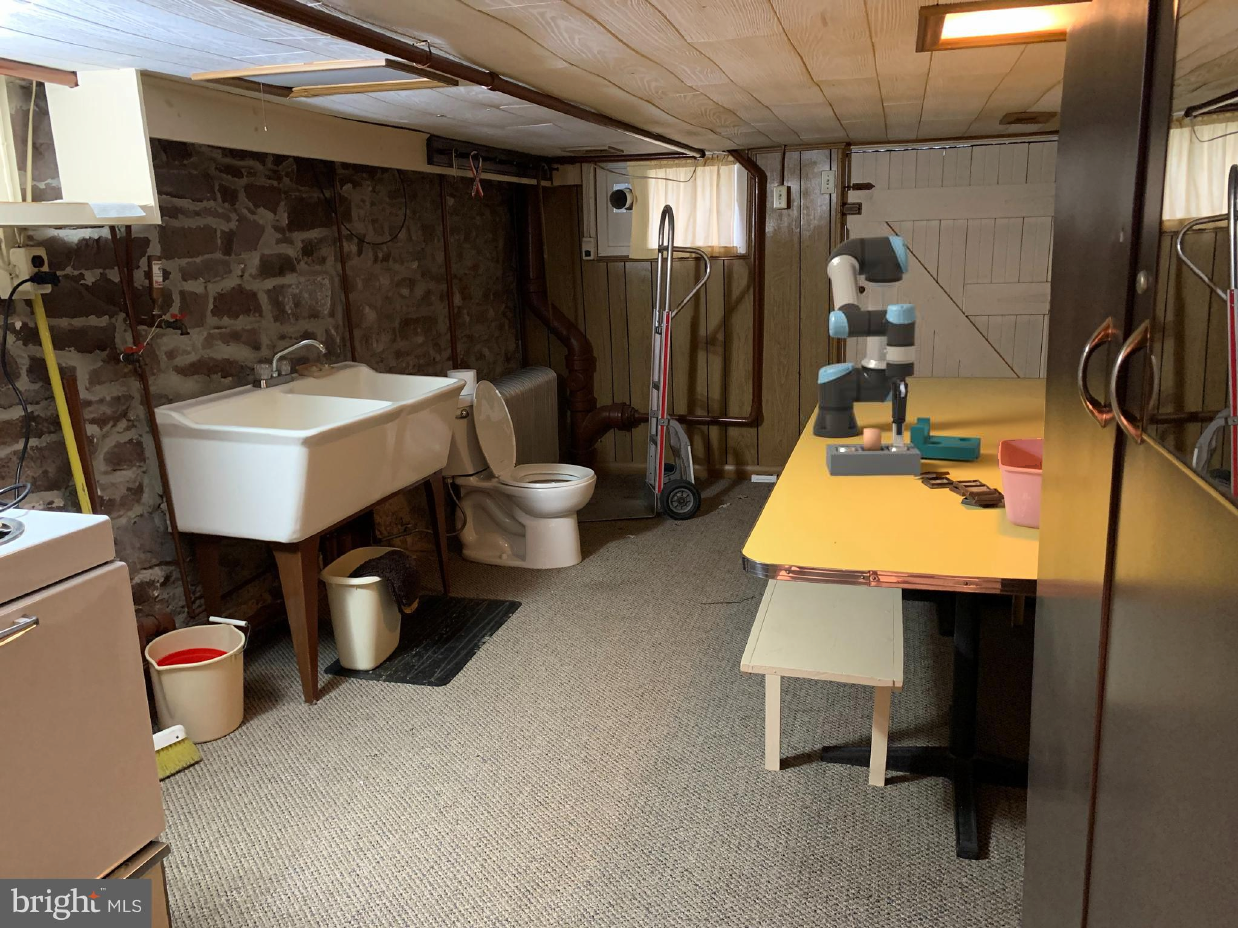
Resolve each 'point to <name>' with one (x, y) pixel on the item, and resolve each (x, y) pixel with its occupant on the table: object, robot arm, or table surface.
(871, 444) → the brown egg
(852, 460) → the grey rectangular block
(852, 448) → the steel plug
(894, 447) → the steel plug
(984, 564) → the table surface
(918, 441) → the teal l-shaped bracket
